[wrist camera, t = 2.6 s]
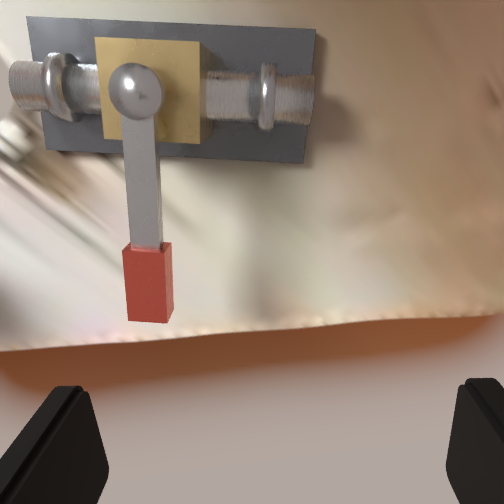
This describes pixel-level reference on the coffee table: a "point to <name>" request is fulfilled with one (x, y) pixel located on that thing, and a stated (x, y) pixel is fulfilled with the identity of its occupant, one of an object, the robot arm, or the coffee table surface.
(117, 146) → the valve body
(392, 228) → the coffee table surface
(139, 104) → the valve lever
